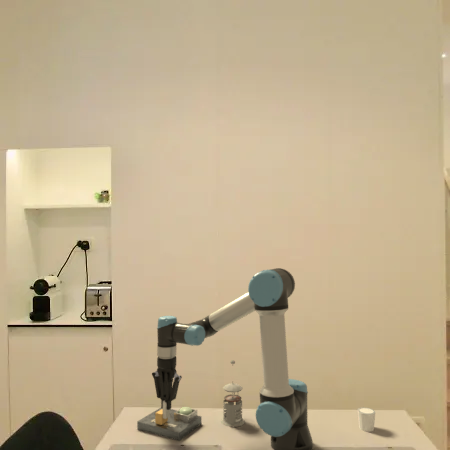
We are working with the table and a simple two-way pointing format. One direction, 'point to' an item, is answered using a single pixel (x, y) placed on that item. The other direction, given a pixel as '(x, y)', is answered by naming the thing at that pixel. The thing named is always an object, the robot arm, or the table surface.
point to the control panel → (171, 424)
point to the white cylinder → (366, 419)
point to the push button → (186, 410)
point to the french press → (232, 406)
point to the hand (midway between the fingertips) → (166, 417)
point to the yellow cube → (160, 417)
